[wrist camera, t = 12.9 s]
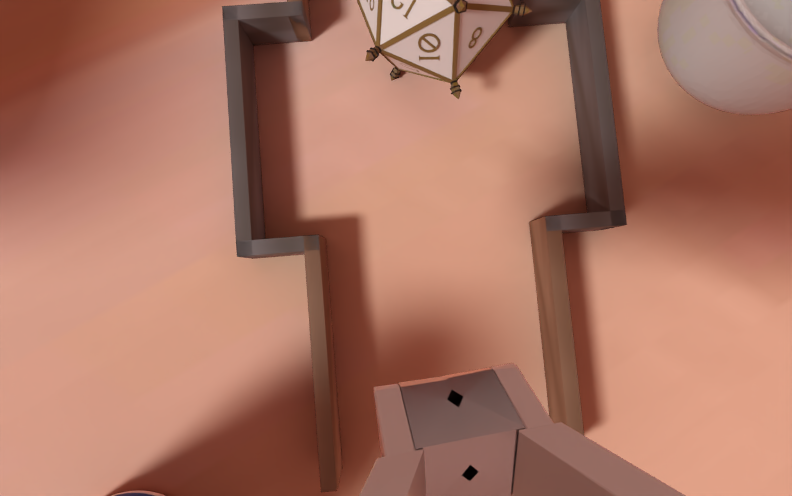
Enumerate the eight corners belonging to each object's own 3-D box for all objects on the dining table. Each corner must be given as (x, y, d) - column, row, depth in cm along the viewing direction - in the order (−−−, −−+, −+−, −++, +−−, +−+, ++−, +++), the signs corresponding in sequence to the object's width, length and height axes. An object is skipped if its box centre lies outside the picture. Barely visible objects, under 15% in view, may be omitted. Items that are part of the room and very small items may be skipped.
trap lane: (265, 475, 23) (240, 516, 19) (233, -65, 25) (203, -128, 21) (627, 441, 24) (674, 474, 20) (566, -87, 26) (598, -152, 22)
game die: (429, 47, 29) (524, -120, 21) (474, 140, 26) (605, -20, 18) (305, 17, 25) (368, -209, 17) (338, 125, 21) (436, -98, 13)
